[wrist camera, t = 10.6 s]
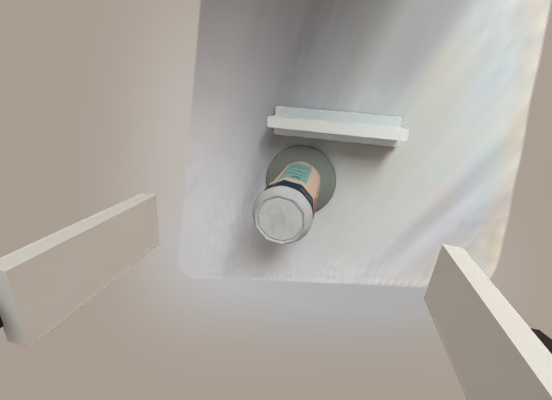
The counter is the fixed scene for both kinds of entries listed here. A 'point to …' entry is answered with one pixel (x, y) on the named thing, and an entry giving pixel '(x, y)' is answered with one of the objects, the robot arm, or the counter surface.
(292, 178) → the beer can
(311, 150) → the coaster
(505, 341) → the robot arm
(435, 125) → the counter surface
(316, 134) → the divider
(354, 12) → the counter surface
